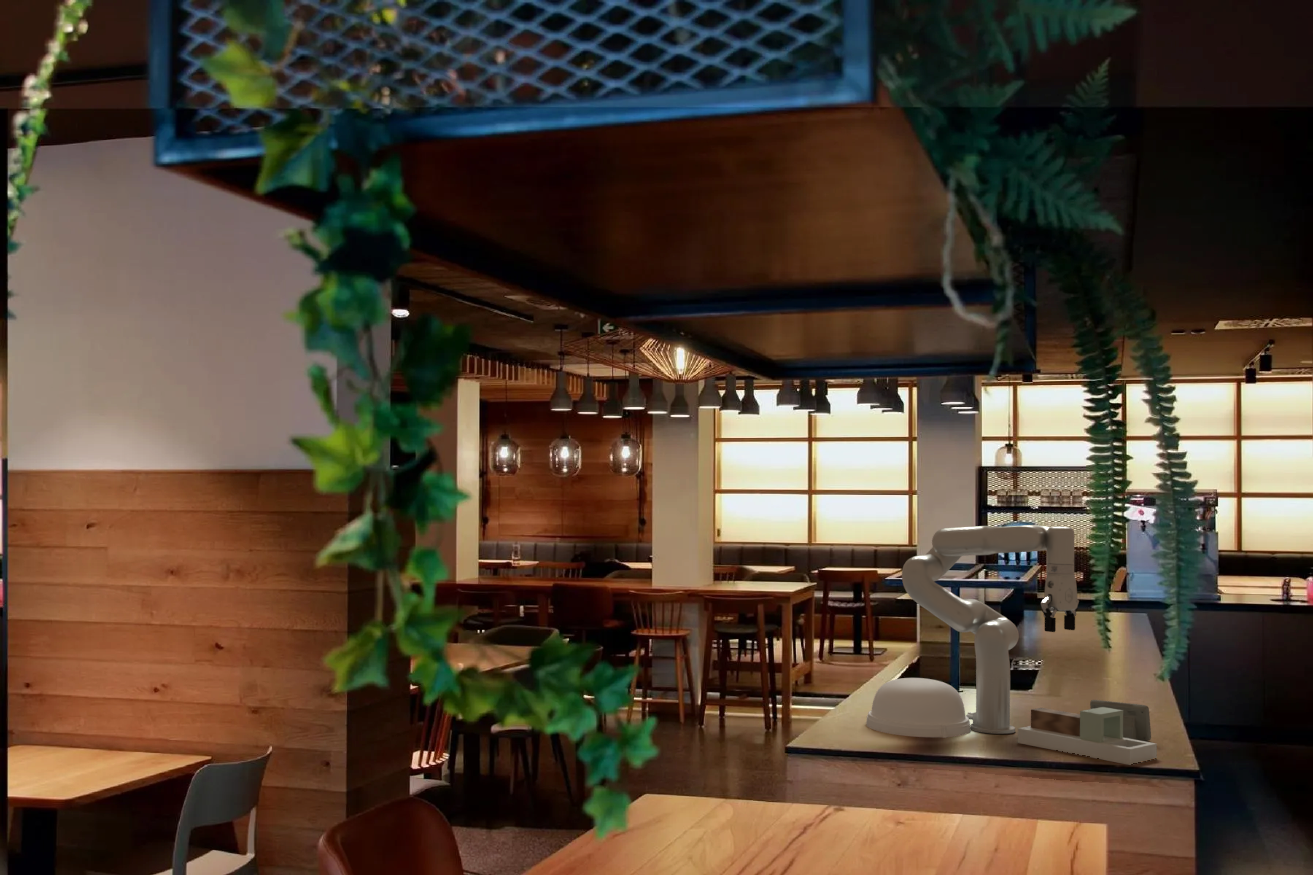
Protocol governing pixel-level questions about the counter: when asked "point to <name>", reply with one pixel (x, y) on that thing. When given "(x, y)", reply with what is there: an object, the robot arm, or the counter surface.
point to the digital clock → (1130, 718)
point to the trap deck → (1090, 746)
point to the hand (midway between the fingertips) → (1059, 630)
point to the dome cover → (918, 709)
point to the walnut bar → (1055, 721)
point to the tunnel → (1101, 724)
